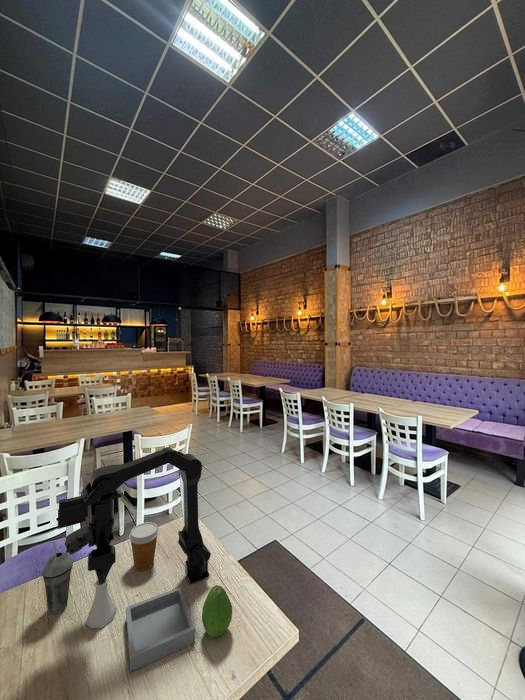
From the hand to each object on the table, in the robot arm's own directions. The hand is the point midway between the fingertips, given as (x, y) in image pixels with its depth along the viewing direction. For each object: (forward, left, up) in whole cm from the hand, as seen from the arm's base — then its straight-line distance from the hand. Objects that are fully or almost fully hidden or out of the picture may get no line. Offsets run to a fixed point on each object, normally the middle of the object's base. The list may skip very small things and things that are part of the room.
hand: (101, 571), depth 82 cm
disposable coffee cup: (-13, -16, -13) cm, 24 cm away
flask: (0, 0, -13) cm, 13 cm away
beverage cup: (+11, -9, -13) cm, 19 cm away
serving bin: (-14, +11, -13) cm, 22 cm away
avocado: (-27, +19, -13) cm, 35 cm away
